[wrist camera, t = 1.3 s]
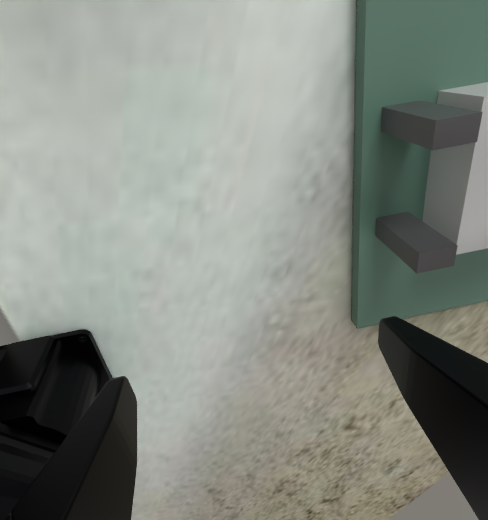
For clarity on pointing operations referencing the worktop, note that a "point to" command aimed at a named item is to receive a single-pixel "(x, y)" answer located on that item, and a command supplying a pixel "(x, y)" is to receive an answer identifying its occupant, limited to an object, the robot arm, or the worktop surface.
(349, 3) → the worktop surface
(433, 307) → the board
